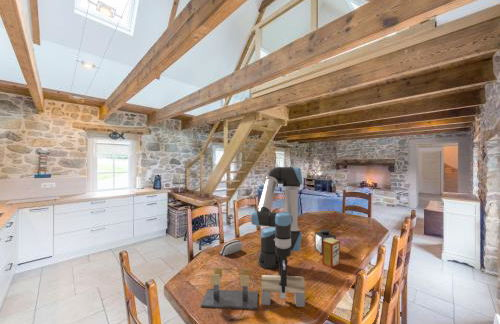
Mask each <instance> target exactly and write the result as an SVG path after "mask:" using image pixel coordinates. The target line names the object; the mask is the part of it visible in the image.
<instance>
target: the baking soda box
mask: <svg viewBox="0 0 500 324" xmlns="http://www.w3.org/2000/svg"><path fill="white" fill-rule="evenodd" d="M340 260H341V240H338V239H337V238H336V239H333V238H330V239H327V240H324V241H323V255H322V265H323V266H325V267H327V266H328V268H329V267H330V268H329V269H334V268H336V267H338V266H340V265H341V261H340ZM339 264H340V265H339ZM337 265H338V266H337ZM335 266H336V267H335ZM333 267H334V268H333Z"/></svg>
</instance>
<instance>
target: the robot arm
mask: <svg viewBox="0 0 500 324" xmlns="http://www.w3.org/2000/svg"><path fill="white" fill-rule="evenodd" d="M263 184H264V185H263V187H262V191H261V195H260V199H259V202H258V206H257V209H256V210H253V211H252V212H251V214H250V223H251V224H252V225H253V226H258V227H265V228H262V230H261V232H260V253H259V256H258V260H257V263H258V265H259V267H261V268H263V269H268V270H269V269H270V270H273V269H278V271H279V272H278V276H281V283H279V285H280V292H278V293H279V297H280V298H279V299H280V300H286V299H287V292H286V286H287V276H288V259H287V258H288V257H290V256H291V254H292V252H300V250H301V246H302V245H301V243H302V238H303V233H302V232H301V230H300V228H299V227H298V224H299V223H298V218H299V214H298V213H299V212H298V211H299V208H298V207H299V204H298V203H299V190H300V188H301V186H302V185H303V175H302V170H301V168H300V167H297V166H276V167H274V168H272V169H270V170H269V171H267V173H266V174H265V176H264V178H263ZM278 185H282V188H283V189H284V211H282V212H275V211H273V212H272V206H273V201H274V198H275V197H274V196H275V192H276V188H277V186H278Z"/></svg>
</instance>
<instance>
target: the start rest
mask: <svg viewBox="0 0 500 324" xmlns="http://www.w3.org/2000/svg"><path fill="white" fill-rule="evenodd" d="M294 303H295V306H296V307H297V308H299V307H300V308H302V307H303V308H305V307H306V292H305V293H294ZM261 305H262V306H271V292H269V291H262V290H261Z"/></svg>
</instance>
